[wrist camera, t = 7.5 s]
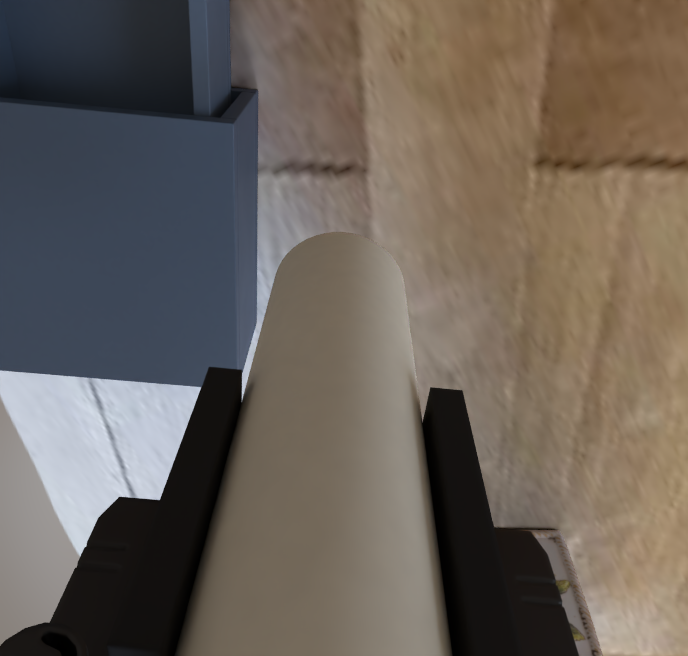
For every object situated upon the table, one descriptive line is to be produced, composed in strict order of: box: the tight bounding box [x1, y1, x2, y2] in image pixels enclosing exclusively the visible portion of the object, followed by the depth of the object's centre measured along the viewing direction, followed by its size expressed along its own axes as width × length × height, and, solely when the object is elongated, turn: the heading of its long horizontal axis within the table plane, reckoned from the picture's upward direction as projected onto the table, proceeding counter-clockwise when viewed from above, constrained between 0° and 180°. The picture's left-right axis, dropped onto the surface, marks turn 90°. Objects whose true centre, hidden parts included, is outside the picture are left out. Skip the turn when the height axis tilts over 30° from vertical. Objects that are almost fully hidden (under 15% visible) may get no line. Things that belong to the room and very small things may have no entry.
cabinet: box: [0, 87, 258, 387], centre depth 34 cm, size 16×15×8 cm
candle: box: [174, 232, 453, 656], centre depth 14 cm, size 4×4×15 cm
